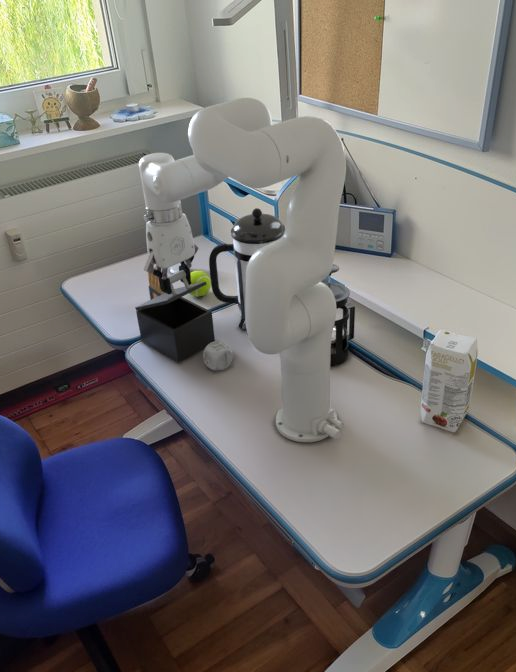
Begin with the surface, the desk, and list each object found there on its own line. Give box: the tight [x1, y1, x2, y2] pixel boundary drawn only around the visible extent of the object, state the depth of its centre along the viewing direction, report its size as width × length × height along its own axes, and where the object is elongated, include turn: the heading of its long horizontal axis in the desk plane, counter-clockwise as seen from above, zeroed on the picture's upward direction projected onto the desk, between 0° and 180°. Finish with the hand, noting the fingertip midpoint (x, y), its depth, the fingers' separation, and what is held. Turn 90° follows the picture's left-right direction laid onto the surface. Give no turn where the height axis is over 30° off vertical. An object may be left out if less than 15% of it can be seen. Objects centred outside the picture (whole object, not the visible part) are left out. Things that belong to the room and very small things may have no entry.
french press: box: [323, 263, 356, 368], centre depth 148 cm, size 12×9×23 cm
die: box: [202, 340, 234, 372], centre depth 152 cm, size 5×5×5 cm
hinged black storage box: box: [135, 296, 216, 364], centre depth 160 cm, size 15×12×9 cm
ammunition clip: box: [147, 266, 169, 301], centre depth 173 cm, size 11×2×12 cm, turn 37°
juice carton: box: [420, 328, 479, 433], centre depth 128 cm, size 8×9×19 cm
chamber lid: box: [134, 270, 207, 311], centre depth 155 cm, size 15×12×5 cm
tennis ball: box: [189, 270, 212, 298], centre depth 180 cm, size 7×7×7 cm
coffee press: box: [208, 207, 286, 331], centre depth 160 cm, size 17×16×30 cm
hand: (176, 287), depth 152 cm, fingers closed on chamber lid, 5 cm apart
